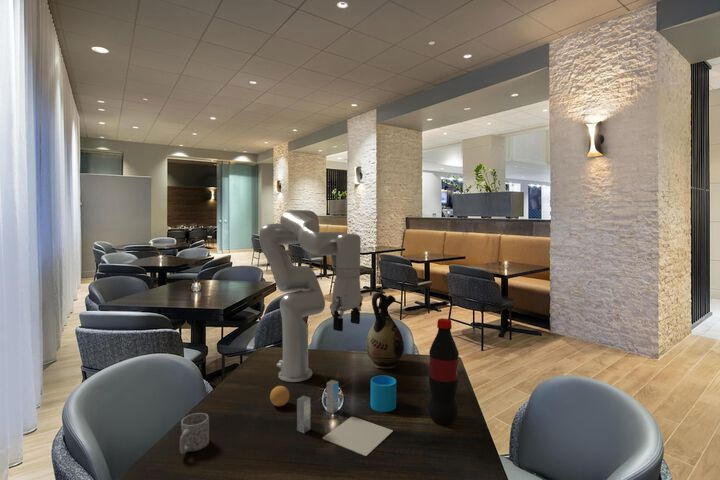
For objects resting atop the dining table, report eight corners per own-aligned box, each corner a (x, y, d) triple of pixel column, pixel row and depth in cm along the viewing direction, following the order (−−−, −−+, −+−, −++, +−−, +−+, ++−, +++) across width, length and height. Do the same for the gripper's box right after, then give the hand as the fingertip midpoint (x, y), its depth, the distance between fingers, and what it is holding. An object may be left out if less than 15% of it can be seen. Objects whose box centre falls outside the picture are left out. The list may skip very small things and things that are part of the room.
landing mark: (322, 438, 103) (322, 437, 103) (351, 416, 115) (351, 416, 115) (366, 456, 95) (366, 455, 95) (393, 431, 107) (393, 430, 107)
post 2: (326, 411, 118) (326, 382, 117) (331, 408, 120) (331, 379, 120) (333, 413, 116) (333, 384, 116) (338, 410, 119) (338, 381, 118)
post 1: (297, 430, 107) (297, 398, 106) (303, 426, 109) (303, 395, 109) (304, 433, 105) (304, 401, 105) (310, 429, 108) (310, 397, 107)
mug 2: (398, 411, 118) (398, 385, 118) (371, 412, 118) (371, 386, 117) (392, 394, 130) (392, 370, 130) (368, 394, 130) (368, 371, 129)
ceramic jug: (383, 355, 167) (383, 287, 166) (411, 365, 156) (412, 292, 155) (355, 365, 156) (355, 292, 154) (383, 376, 145) (384, 298, 143)
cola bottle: (458, 415, 116) (460, 317, 115) (456, 429, 108) (458, 324, 107) (430, 410, 119) (432, 314, 118) (426, 423, 111) (427, 321, 110)
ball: (265, 406, 121) (265, 387, 120) (279, 399, 126) (279, 381, 125) (279, 411, 117) (279, 392, 117) (293, 404, 122) (293, 385, 122)
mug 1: (190, 436, 104) (190, 412, 103) (213, 437, 103) (213, 413, 103) (168, 458, 94) (167, 432, 94) (194, 460, 93) (193, 434, 93)
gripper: (352, 269, 130) (351, 319, 131) (321, 275, 115) (320, 331, 116) (372, 271, 126) (370, 322, 127) (342, 277, 111) (341, 335, 112)
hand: (346, 326), depth 121 cm, fingers open, 9 cm apart
